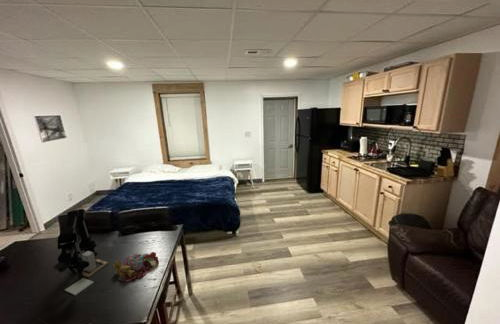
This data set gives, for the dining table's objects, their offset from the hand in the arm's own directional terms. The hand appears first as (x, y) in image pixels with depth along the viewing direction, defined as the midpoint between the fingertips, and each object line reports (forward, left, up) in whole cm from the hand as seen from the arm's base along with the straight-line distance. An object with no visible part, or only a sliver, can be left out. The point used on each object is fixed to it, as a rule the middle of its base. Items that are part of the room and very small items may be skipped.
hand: (77, 275), depth 122 cm
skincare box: (-9, +12, -8) cm, 17 cm away
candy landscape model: (+19, +24, -9) cm, 32 cm away
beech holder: (-9, +13, -8) cm, 18 cm away
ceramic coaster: (0, 0, -8) cm, 8 cm away
